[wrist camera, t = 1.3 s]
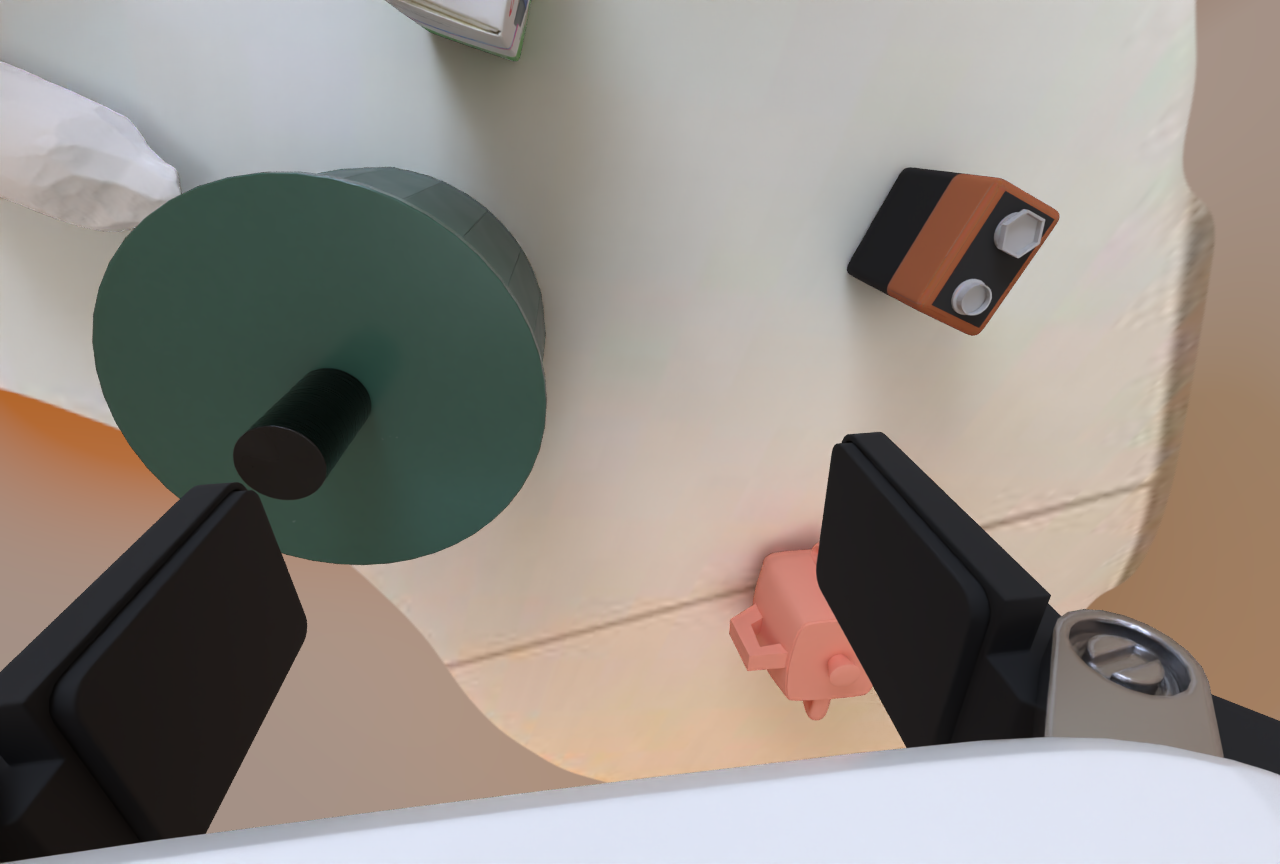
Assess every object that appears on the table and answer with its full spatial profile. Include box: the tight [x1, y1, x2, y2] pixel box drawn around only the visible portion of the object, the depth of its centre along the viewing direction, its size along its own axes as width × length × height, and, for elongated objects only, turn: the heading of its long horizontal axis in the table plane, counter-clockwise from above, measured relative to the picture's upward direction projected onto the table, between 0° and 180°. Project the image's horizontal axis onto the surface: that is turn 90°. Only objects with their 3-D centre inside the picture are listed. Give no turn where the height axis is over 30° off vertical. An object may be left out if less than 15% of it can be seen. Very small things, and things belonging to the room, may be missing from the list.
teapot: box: [729, 542, 873, 720], centre depth 45 cm, size 12×12×10 cm
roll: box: [0, 61, 182, 232], centre depth 28 cm, size 6×12×6 cm, turn 65°
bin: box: [318, 167, 546, 363], centre depth 31 cm, size 17×17×12 cm
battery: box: [847, 168, 1059, 336], centre depth 33 cm, size 4×7×10 cm, turn 156°
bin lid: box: [92, 172, 547, 565], centre depth 24 cm, size 18×18×7 cm
